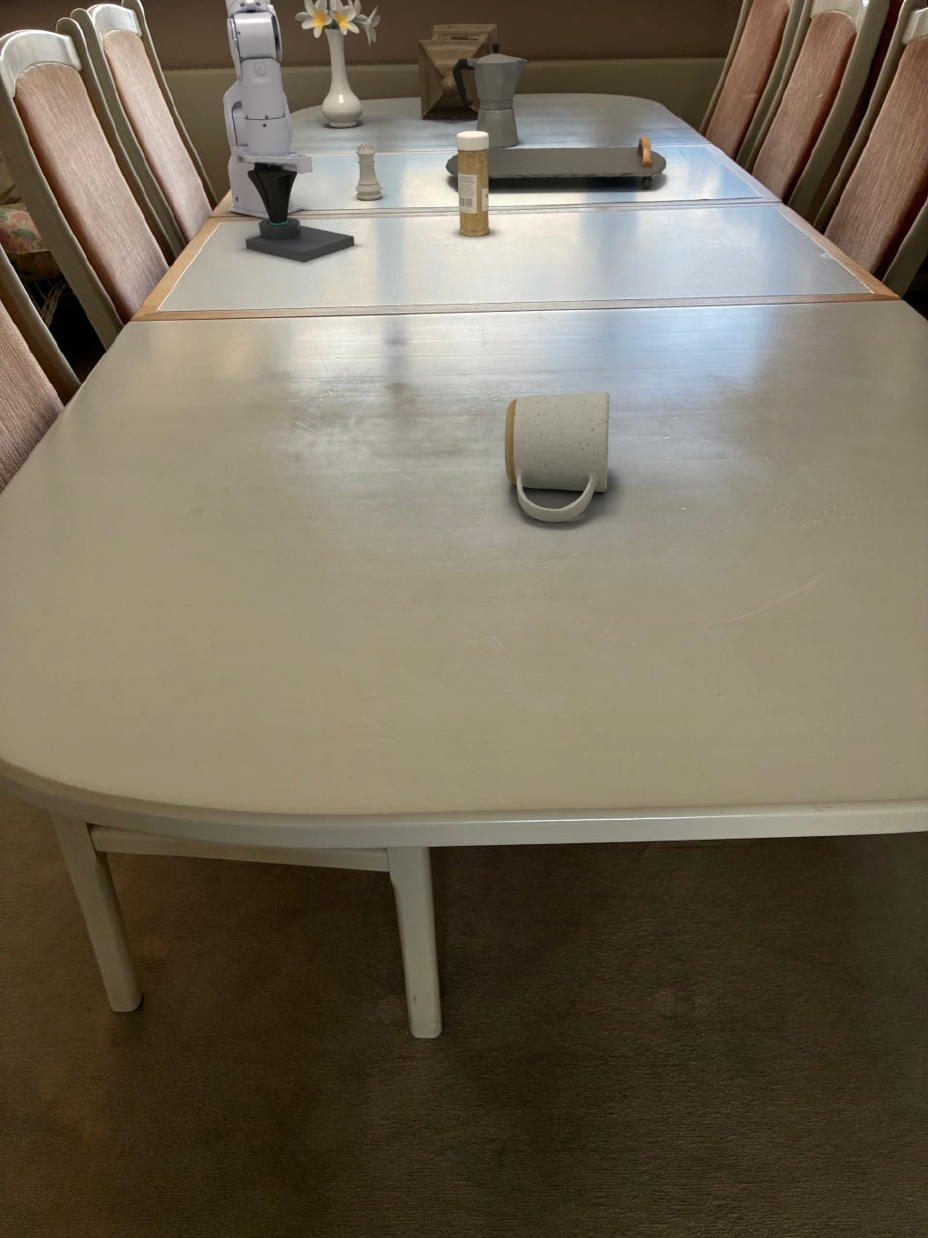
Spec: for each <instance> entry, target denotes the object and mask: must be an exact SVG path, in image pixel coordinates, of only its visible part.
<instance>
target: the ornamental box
mask: <svg viewBox="0 0 928 1238" xmlns="http://www.w3.org/2000/svg"><path fill="white" fill-rule="evenodd" d="M498 41H499V40H498V26H497V24H496V23H486V24H485V23H484V24H483V23H482V24H479V23H451V24H448V23H447V24H434V25H433V26H432V29H431V30H430V39H420V40H418V42H417V59H418V60H417V61H418V63H417V64H418V77H419V79H418V80H419V93H420V107H421V108H420V110H421V117H422V119H478V112H479V109H480V99H478V95H477V88H476V81H475V74H474V70H467V69H463V70H462V71H461V75H462V77H463V84H464V87H465V89H466V96H467V99H468V100H473V104H472V105H471V106H466V105H463V104H462V101H461V98H460V95H459V92H458V89H457V86H456V83H455V80H454V77H453V74H452V70H453V67H454V66H455V65H456V63H457V62H458V60H459V59H466V58H467V59H479V58H482V57H484V56H487V55H490V54H493V49H492V44H493V43H499V42H498Z"/></svg>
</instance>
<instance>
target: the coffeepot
mask: <svg viewBox="0 0 928 1238" xmlns="http://www.w3.org/2000/svg"><path fill="white" fill-rule="evenodd" d="M500 46H501V44H500V43H499V42H498V43H493V44H492V49H493V54H490V55H487V56H484V57H482V58H479V59H467V58H466V59H459V60H458V62H457V63H456V65H455V66H454V67H453V70H452V74H453V77H454V80H455V83H456V86H457V89H458V92H459V95H460V98H461V101H462V104H463V105H466V106H471V105H472V104H473V100H468V99H467V96H466V89H465V87H464V84H463V77H462V75H461V71H462V70H463V69H467V70H474V74H475V81H476V88H477V95H478V99H480V109H479V112H478V118H477V121H476V128H475V131H482V132H486V133H488V136H489V147H488V148H487V149H507V148H512V147H516V146H517V145H518V142H519V137H518V129H517V123H516V114H515V108H514V107H513V106H514V100H513V99H515V94H516V87H517V82H518V80H519V79H520V76H521V74H522V72H523V70H524V69H525V67H526V66H527V65H528V64H529V61H528V60H527V59H525V58H520V57H515V56H510V55H506V54H502V53H499V52H500Z"/></svg>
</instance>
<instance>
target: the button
mask: <svg viewBox="0 0 928 1238" xmlns="http://www.w3.org/2000/svg"><path fill="white" fill-rule="evenodd" d="M288 223H289V221H288V220H287V221H285V222H281V223H278V224H276V223H271V221H270V222H269V225H285V224H288Z"/></svg>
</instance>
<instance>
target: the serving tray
mask: <svg viewBox="0 0 928 1238" xmlns="http://www.w3.org/2000/svg"><path fill="white" fill-rule="evenodd" d="M651 146H652V145H651V141H650V138H649V137H648V136H641V137H639V140H638V145H637V146H596V147H595V146H594V147H593V146H589V147H532V148H531V147H530V148H528V147H527V148H524V147H518V148H487V149H488V151H487V163H488V165H487V166H488V179H542V178H543V179H546V178H547V179H548V178H549V179H550V178H553V179H554V178H555V179H557V178H623V177H624V178H626V177H629V178H630V177H632V178H633V177H642V178H641V180H640V186H641V187H642V190H651V189H652V187H653V185H654V177H655V176H657V175H659V174H662V172H664V170H665V169H666V168H667V160H666V157H664V156H663V155H661V154H660V153H659V152H657V151H654V150H652V147H651ZM445 170H446V171H447V172H448V173H449V174H450V175H452V176H454V177H455V178H457V179H458V153H457V154H455V155H453V156H452V157H450V158H449V159H447V162H446V164H445Z"/></svg>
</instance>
